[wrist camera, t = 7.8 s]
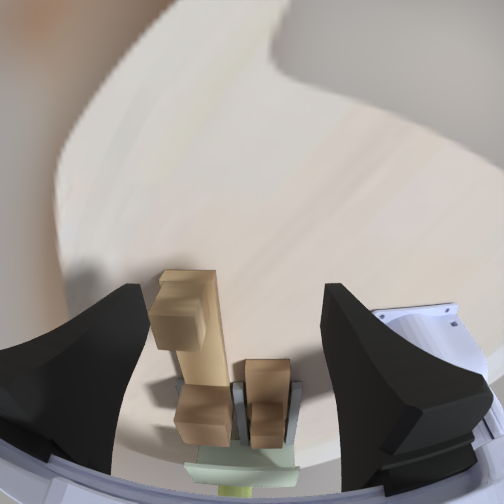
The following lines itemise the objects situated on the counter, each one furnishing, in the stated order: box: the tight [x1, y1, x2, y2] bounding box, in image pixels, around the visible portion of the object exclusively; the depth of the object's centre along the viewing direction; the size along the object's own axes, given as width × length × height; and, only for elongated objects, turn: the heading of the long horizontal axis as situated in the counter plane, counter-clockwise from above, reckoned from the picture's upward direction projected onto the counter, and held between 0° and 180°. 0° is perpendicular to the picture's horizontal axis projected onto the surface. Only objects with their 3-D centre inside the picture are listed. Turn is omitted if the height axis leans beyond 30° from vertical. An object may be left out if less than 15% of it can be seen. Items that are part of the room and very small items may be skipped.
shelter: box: [184, 440, 300, 487], centre depth 29 cm, size 12×6×7 cm, turn 92°
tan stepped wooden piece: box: [148, 270, 232, 400], centre depth 23 cm, size 4×16×6 cm, turn 2°
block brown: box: [245, 359, 290, 449], centre depth 25 cm, size 4×8×6 cm, turn 2°
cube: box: [174, 384, 233, 447], centre depth 25 cm, size 4×4×4 cm
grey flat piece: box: [176, 379, 302, 447], centre depth 30 cm, size 13×13×2 cm
